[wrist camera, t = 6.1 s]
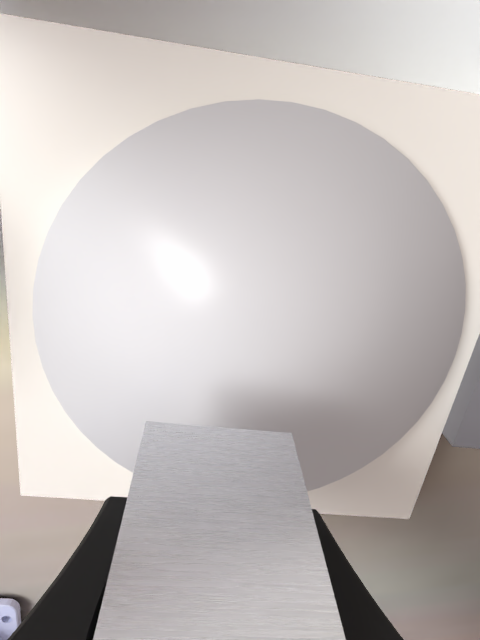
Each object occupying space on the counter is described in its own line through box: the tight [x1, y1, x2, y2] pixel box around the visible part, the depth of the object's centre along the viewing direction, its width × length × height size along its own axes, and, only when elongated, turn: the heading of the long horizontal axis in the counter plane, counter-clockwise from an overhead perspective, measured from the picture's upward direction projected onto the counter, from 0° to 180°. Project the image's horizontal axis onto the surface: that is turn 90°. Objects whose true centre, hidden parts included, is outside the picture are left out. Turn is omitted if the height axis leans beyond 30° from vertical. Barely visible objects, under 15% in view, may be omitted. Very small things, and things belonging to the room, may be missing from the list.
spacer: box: [93, 421, 346, 640], centre depth 10 cm, size 4×4×6 cm
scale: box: [0, 13, 480, 519], centre depth 15 cm, size 16×19×2 cm
